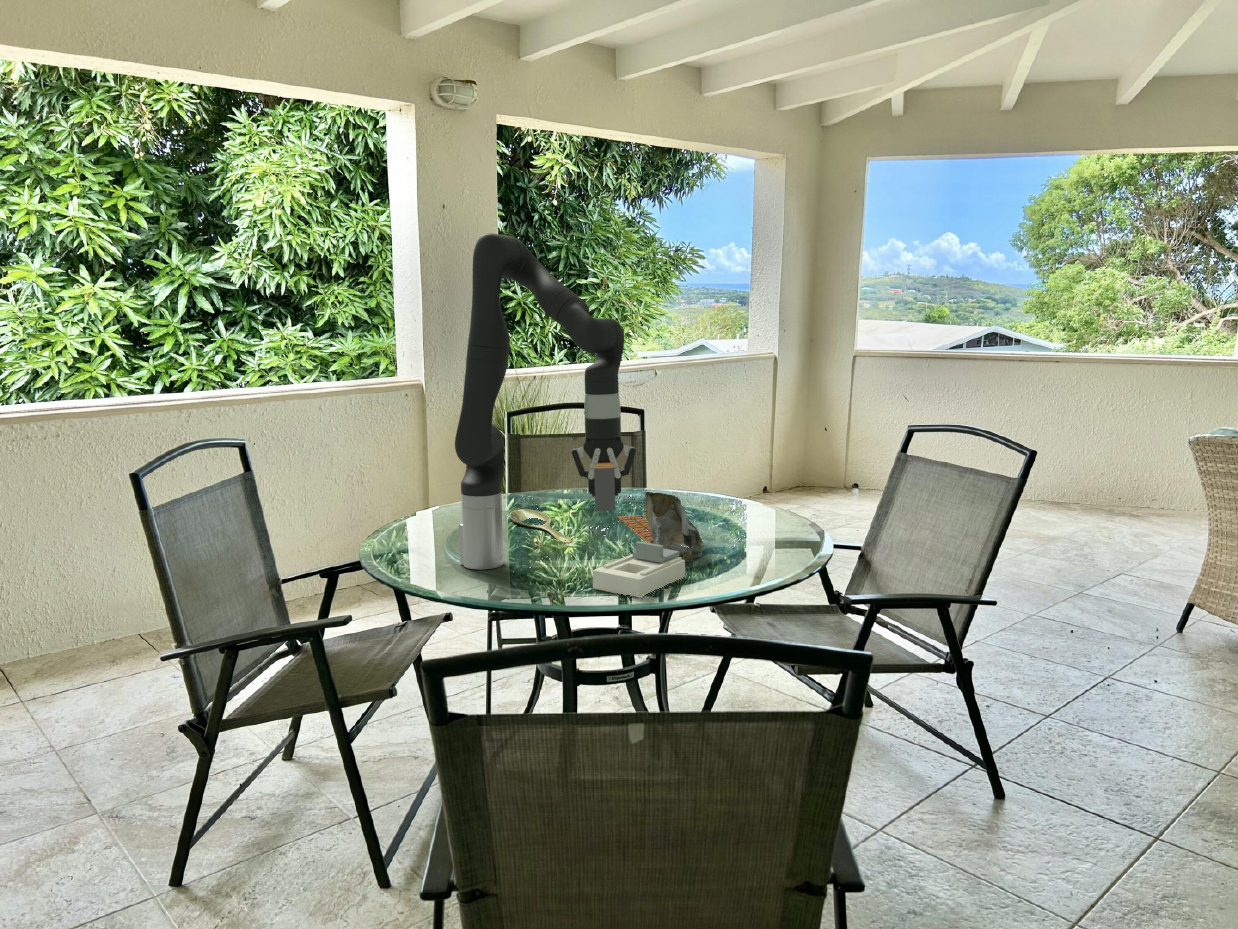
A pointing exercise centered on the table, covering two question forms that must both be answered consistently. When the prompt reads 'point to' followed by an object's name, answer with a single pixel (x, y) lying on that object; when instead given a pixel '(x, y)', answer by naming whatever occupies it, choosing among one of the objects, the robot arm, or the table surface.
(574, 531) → the table surface
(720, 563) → the table surface
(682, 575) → the socket block
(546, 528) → the spoon
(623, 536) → the table surface
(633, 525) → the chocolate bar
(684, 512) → the stone
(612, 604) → the table surface
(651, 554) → the grey l-shaped block
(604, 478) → the plug
